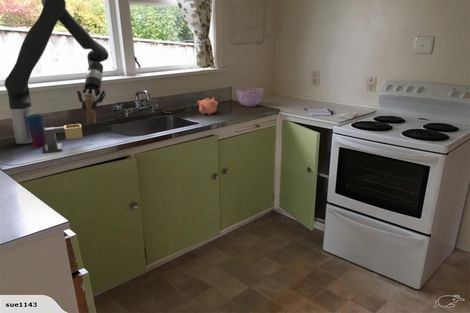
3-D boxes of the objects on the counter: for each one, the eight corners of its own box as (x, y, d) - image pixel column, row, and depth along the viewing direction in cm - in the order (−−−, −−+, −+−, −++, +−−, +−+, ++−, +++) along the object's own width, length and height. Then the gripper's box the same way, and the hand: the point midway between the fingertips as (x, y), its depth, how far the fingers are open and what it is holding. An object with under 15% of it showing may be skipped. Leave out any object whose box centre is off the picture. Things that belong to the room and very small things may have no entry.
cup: (43, 142, 187) (38, 113, 182) (50, 145, 183) (44, 114, 178) (29, 146, 182) (23, 115, 177) (35, 148, 178) (29, 117, 173)
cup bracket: (42, 153, 171) (39, 132, 168) (43, 147, 180) (40, 127, 177) (84, 148, 178) (81, 127, 174) (83, 143, 186) (80, 123, 183)
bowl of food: (268, 104, 275) (269, 88, 272) (255, 109, 259) (255, 92, 256) (245, 102, 286) (245, 86, 282) (230, 106, 270) (230, 90, 266)
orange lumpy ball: (219, 115, 243) (219, 99, 240) (201, 116, 240) (200, 100, 237) (214, 111, 256) (214, 96, 253) (197, 112, 254) (196, 96, 250)
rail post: (87, 123, 186) (84, 95, 181) (87, 121, 189) (83, 93, 185) (96, 122, 187) (93, 94, 183) (95, 121, 191) (92, 93, 186)
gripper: (76, 76, 188) (71, 104, 180) (105, 75, 189) (101, 104, 181) (81, 85, 195) (76, 113, 187) (109, 85, 195) (105, 113, 188)
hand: (88, 109), depth 184 cm, fingers closed on rail post, 4 cm apart
